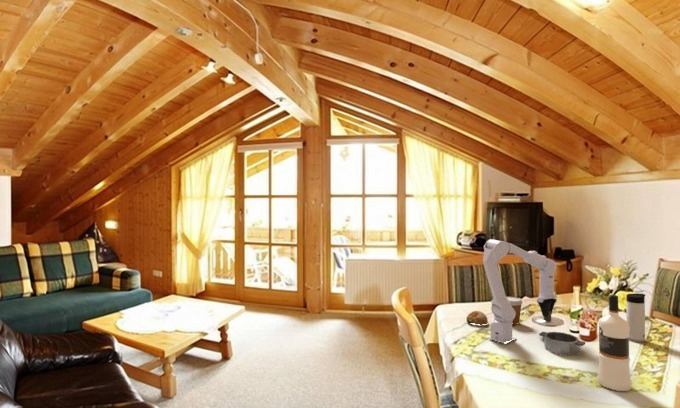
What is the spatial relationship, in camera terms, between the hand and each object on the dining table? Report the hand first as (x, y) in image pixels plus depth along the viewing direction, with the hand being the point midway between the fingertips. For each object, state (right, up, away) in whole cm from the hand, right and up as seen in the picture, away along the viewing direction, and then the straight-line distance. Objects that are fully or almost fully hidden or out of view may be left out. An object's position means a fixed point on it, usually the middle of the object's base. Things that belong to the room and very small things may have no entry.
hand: (547, 315), depth 168 cm
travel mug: (+35, -9, -6) cm, 37 cm away
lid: (0, -4, 0) cm, 4 cm away
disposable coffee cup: (-7, -10, +19) cm, 22 cm away
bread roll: (-24, -10, +19) cm, 32 cm away
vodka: (-2, -10, -44) cm, 46 cm away
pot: (-2, -10, -15) cm, 18 cm away
